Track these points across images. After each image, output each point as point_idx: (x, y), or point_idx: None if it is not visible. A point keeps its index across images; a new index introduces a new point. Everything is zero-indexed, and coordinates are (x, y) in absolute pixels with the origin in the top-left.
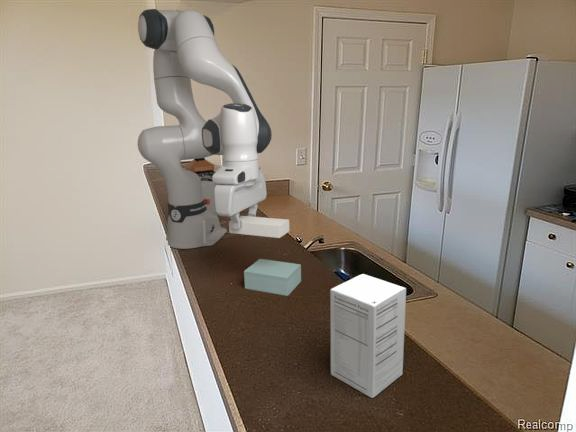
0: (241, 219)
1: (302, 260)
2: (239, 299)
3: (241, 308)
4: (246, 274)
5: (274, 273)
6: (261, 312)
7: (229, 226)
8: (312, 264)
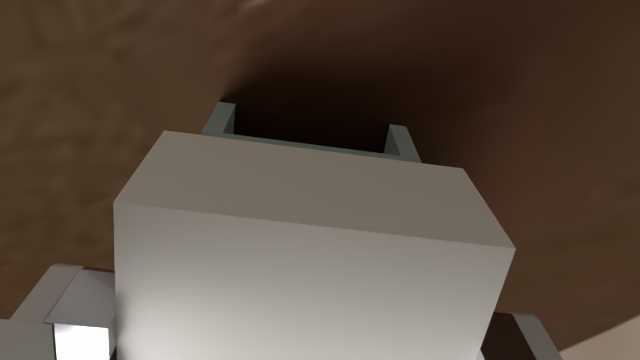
0: (282, 336)
1: (621, 275)
2: (95, 118)
3: (19, 159)
4: None
5: None
6: (29, 247)
7: (140, 171)
8: (565, 325)
